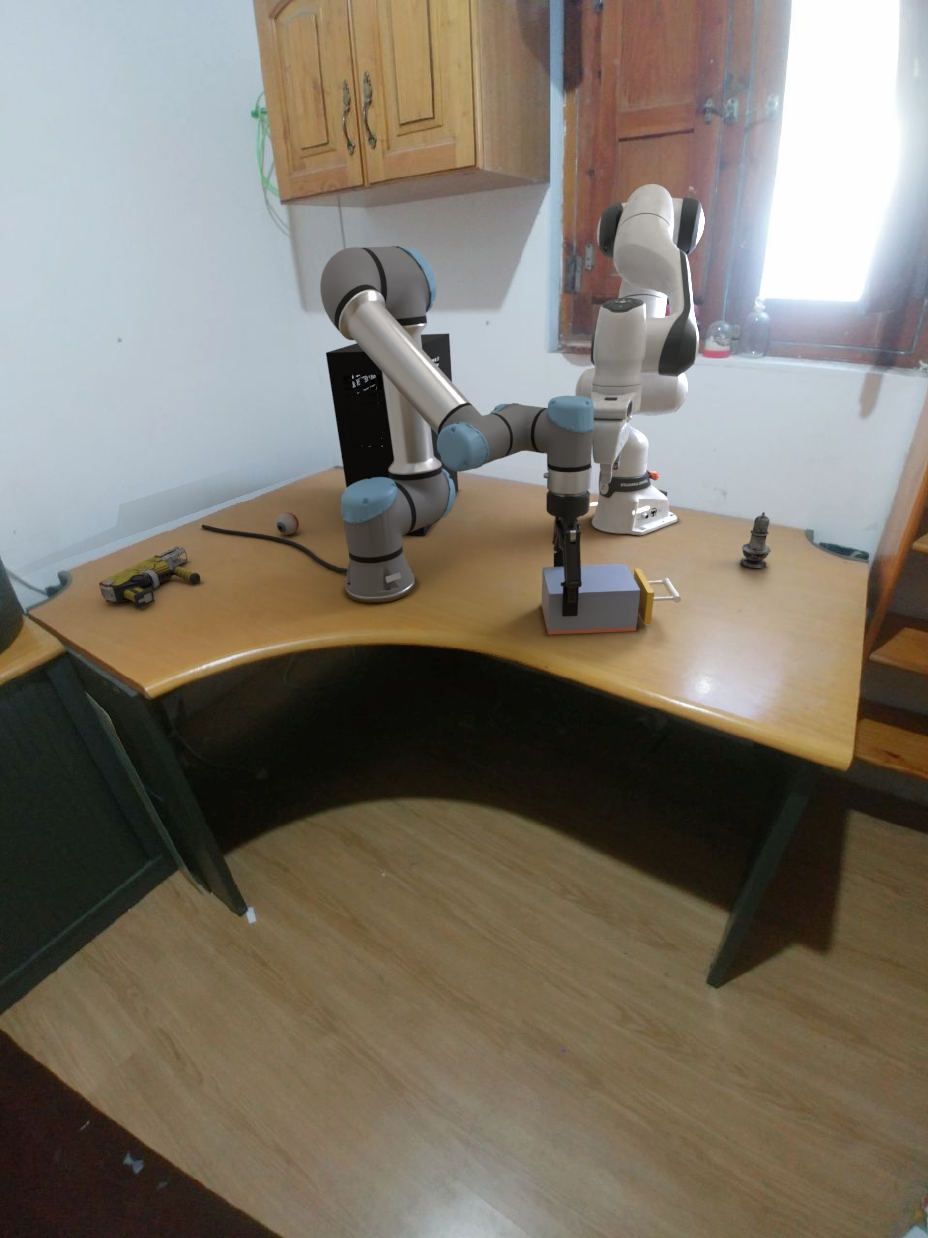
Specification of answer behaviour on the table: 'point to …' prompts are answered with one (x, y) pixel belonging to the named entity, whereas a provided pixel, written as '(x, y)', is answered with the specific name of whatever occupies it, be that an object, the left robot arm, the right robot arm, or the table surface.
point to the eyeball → (287, 523)
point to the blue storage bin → (592, 600)
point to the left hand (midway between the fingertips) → (564, 598)
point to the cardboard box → (373, 411)
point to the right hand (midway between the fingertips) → (610, 475)
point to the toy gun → (146, 578)
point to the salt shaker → (757, 544)
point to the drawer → (651, 595)
